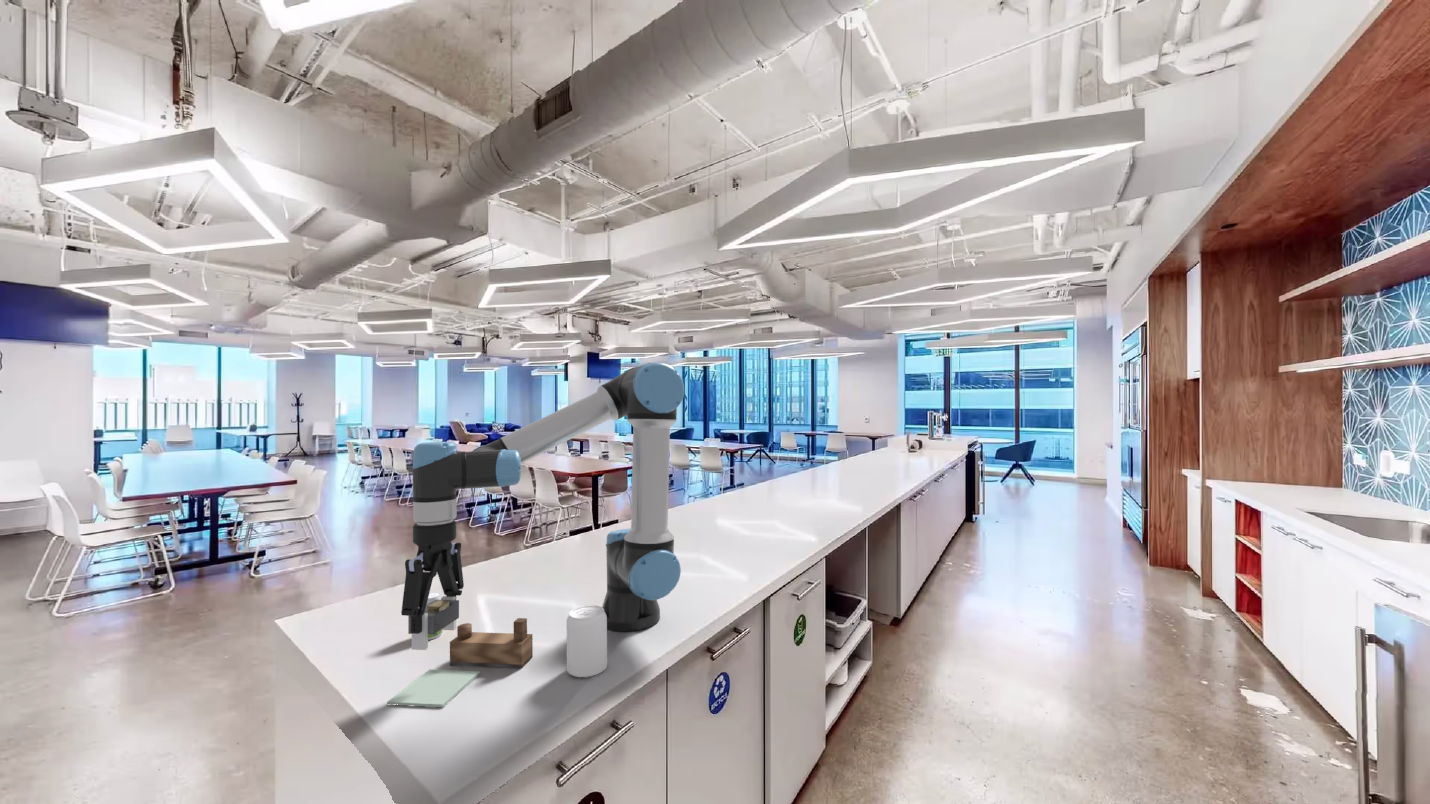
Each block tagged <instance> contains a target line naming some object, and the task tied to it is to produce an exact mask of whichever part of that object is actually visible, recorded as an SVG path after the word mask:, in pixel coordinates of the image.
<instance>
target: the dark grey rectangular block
mask: <svg viewBox="0 0 1430 804" xmlns="http://www.w3.org/2000/svg"><path fill="white" fill-rule="evenodd" d="M424 613H428V635H434V634H435V633H437V632H438V631H440V630H441V629H443V628H444V627H446V626H447V625H449V624H450V623H452V622H453V621H455V620H456V621H457V620H458V619H459V618H460V600H457V599H456V600H441V599H439V600H434V601H432V602H431V603H429V604H427V605H426V608H425V612H424ZM407 621H408V623H407V624H408V625H407V626H408V634H409V635H412V633H411V617H410V616H408V619H407Z"/></svg>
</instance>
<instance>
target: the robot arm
mask: <svg viewBox="0 0 1430 804" xmlns="http://www.w3.org/2000/svg"><path fill="white" fill-rule="evenodd" d="M684 396H685V384H684V380H683V378H682V376H681V375H680V373H679V372H678V370H676V369H675V368H674V367H673V366H671V365H669V364H667V363H664V362H663V363H662V362H647V363H645V364H642V365H639V366H634V367H633V366H632V367H631V368H629V369H627V370H625V371H624V372H622V373H621V374H619V375H617V376H616V377H614V378H612V379H611V380H609V381H608V382H605V383H604V384H602V385H600V386H598V387H597V390H596V392H594V393H592V394H591V395H590V394H589V395H587V396H586V397H584V398H581V399H580V400H578V401H575V402H573V403H571V404H569V405H567V406H564V407H563V408H561V409H558V410H556V411H554V412H552V413H550V414H547V415H546V416H544V417H542V418H539V419H537V420H535V421H533V422H531V423H529V424H528V425H525V426H523V427H521V428H519V429H516V430H515V431H512V432H510V433H508V434H507V435H503V436H502V437H500V438H498V439H497V440H496V439H495V440H494V441H492V442H489V443H488V444H486V445H480V446H478V447H476V448H474V449H473V450H471V451H465V450H464V451H461V450H459V451H458V448H457V444H456V443H455V442H453V441H432V442H431V441H430V442H420V443H418V444H416V446H415V447H414V448H413V460H412V504H413V505H412V521H413V522H415V523H414V524H413V526H412V542H413V544H414V545H416V546H417V548H418V549H417V553H416V556H415V557H414V558H412V559H411V558H410V559H406V560H405V562H404V567H405V568H404V569H405V578H404V587H403V596H402V597H403V598H402V605H401V611H400V612H401V616H405V617H407V616H410V617H411V633H412V634H411V651H413V650H416V651H426V650H427V649H428V646H429V640H428V613H424V612H425V608H426V604H427V600H428V596H429V593H430V591H431V587H432V584H433V580H434V578H435V577H436V576H438V579H439V581H440V585H441V588H442V589H441V590H443V591H442V592H443V594H444V596H441V598H440V600H457V596H462V593H463V589H464V586H465V585H464V575H463V574H464V573H463V565H462V556H461V552H462V550H461V549H462V542H453V541H455V540H456V538H457V521H456V520H455V519H456V518H457V516H458V515H457V509H458V508H457V507H458V506H457V490H465V489H480V488H483V489H484V488H498V487H499V488H504V487H508V486H516V485H517V484H519V482H520V480H521V474H522V473H521V472H522V464H524V463H526V462H528V461H529V460H531V459H533V458H535V457H536V458H537V456H540V455H542V454H543V453H546V452H547V451H549V450H552V449H554V448H555V447H558V446H560V445H561V444H564V443H566V442H568V441H570V440H572V439H573V438H576V437H578V436H579V435H582V434H584V433H585V432H587V431H589V430H591V429H593V428H595V427H598V426H599V425H601V424H603V423H605V422H607V421H610V420H612V421H618V420H619V419H622V418H625V417H626V420H627V422H628V423H629V424H630V425H631V427H633V428H632V429H633V431H632V432H633V433H632V472H631V473H632V475H631V507H630V508H631V510H630V511H631V514H630V515H631V516H630V519H631V520H630V528H622V529H617V530H612V531H610V532H609V533H608V534H607V535H606V543H605V547H606V593H605V596H604V599H603V603H602V606H601V607H602V608H604V612H605V613H606V616H607V630H610V631H613V632H614V631H615V632H634V631H635V632H636V631H640V630H644V628H645V629H647V628H650V627H652V626H654V625H655V624H657V623H658V622H659V621H660V619H661V608H660V605H659V602H658V600H661V599H663V598H665V597H666V596H668V595H669V594H670V593H671V592H672V591H673V590H674V589H675V588H676V586H677V585H678V583H679V581H680V577H681V571H682V570H681V564H680V560H679V559H678V557H677V556H676V555H675V551H674V550H675V536H674V535H673V533H672V532H671V531H670V530H669V528H668V527H669V526H668V525H669V488H670V487H669V486H670V484H669V481H670V479H669V478H670V477H669V476H670V441H671V440H670V436H671V435H670V433H671V427H672V426H673V425H674V424H675V423H676V422H677V414H678V413H677V412H678V411H677V410H678V409H677V408H678V407H679V406H680V404H681V403H682V402H683V400H684ZM456 629H457V619H456V620H455V621H453V622H452V623H450V624H449V625H447V626H446V627H444V628H443V629H441V630H442V631H455V630H456Z"/></svg>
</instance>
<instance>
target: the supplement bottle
mask: <svg viewBox="0 0 1430 804" xmlns="http://www.w3.org/2000/svg"><path fill="white" fill-rule="evenodd" d="M434 600H440V594H439V593H437V592H431V593H430V592H429V596H428V600H427V604H429V603H431V602H432V601H434ZM427 604H426V605H427ZM442 634H443V630H440V631H438V632H437V633H435V634H434V635H428V641H431V640H435V639H436V638H437V639H438V638H439V637H441V636H442Z"/></svg>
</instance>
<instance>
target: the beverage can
mask: <svg viewBox="0 0 1430 804" xmlns="http://www.w3.org/2000/svg"><path fill="white" fill-rule="evenodd" d="M607 667H608V629H607V616H606V613H605V612H604V608H602V606H599V605H594V604H593V605H589V604H588V605H582V606H578V607H575V608H573V609H570V611H569V613H568V616H567V619H566V671H567V673H568V674H569V675H571V676H573V677H576V678H581V677H585V678H590V677H589V676H591V677H594V676H593V675H595V676H596V674H597V675H598V674H601V673H602V672H603V671H605V670H606V668H607Z"/></svg>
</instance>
